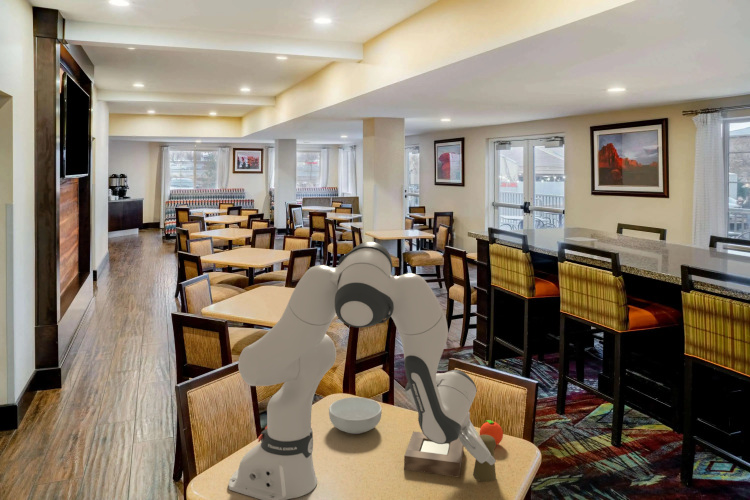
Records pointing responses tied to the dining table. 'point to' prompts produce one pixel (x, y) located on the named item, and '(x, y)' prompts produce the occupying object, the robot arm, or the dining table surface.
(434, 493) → the dining table surface
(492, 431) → the clementine
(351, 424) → the cereal bowl
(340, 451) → the dining table surface
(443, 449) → the cream square tile
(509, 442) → the dining table surface
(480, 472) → the olive pepper mill
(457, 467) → the socket block
